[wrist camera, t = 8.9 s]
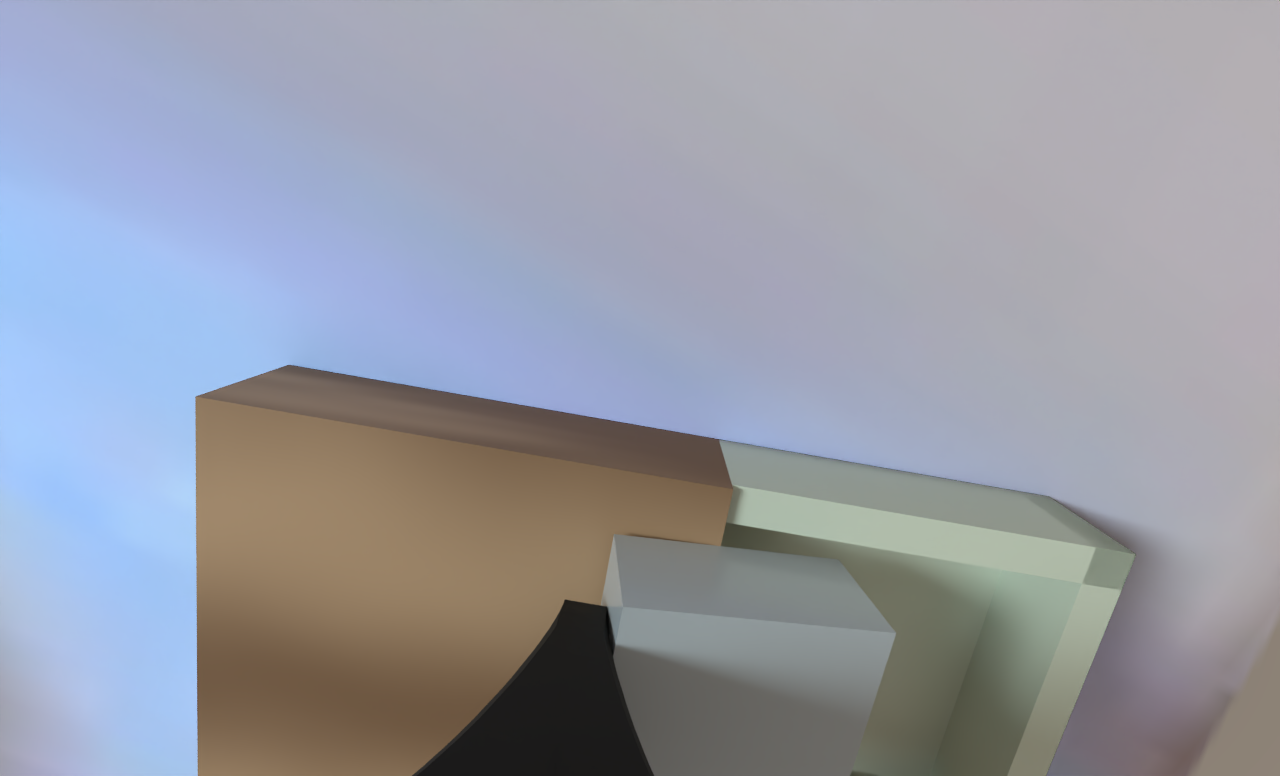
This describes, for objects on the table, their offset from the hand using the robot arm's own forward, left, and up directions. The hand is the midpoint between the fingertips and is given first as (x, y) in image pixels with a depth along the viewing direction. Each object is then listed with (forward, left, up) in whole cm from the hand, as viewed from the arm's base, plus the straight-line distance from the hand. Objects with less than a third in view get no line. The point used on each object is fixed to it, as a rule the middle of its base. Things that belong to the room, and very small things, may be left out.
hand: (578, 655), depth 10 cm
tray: (-3, -6, -3) cm, 7 cm away
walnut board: (-3, +2, -3) cm, 5 cm away
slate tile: (0, -2, -1) cm, 2 cm away
